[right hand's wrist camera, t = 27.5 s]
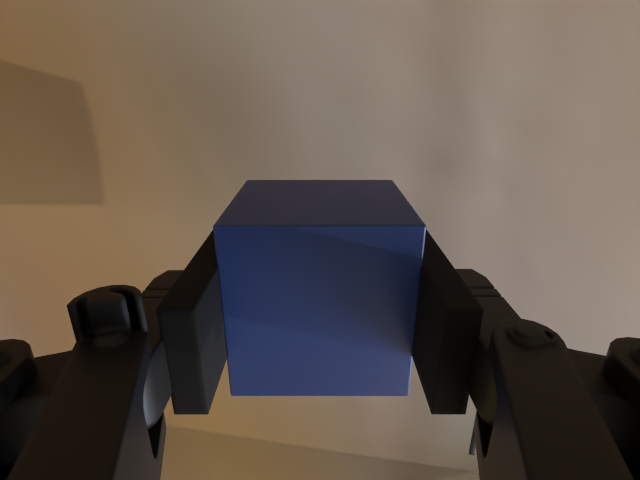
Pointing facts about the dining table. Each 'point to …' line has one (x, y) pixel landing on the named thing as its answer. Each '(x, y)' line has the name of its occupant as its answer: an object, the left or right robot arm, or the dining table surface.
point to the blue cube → (319, 287)
